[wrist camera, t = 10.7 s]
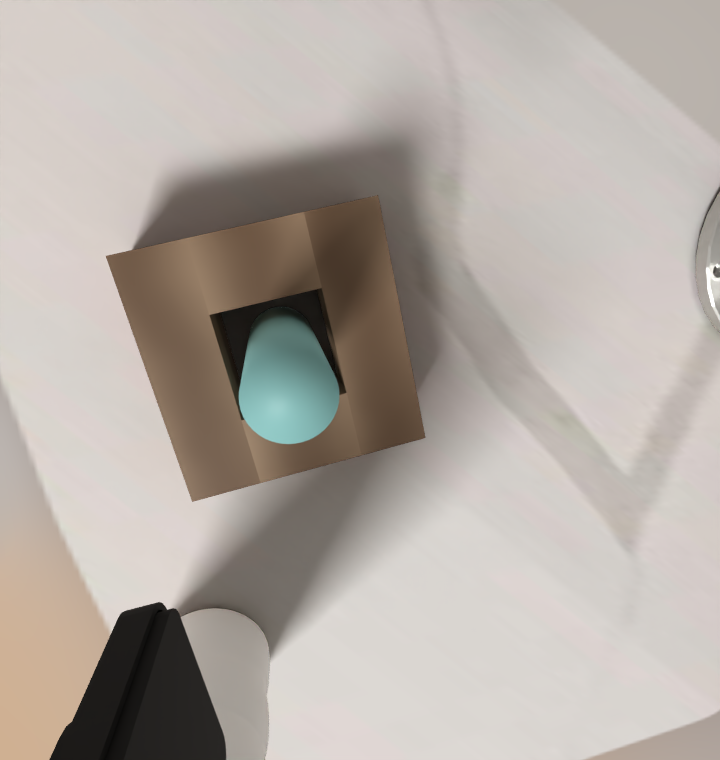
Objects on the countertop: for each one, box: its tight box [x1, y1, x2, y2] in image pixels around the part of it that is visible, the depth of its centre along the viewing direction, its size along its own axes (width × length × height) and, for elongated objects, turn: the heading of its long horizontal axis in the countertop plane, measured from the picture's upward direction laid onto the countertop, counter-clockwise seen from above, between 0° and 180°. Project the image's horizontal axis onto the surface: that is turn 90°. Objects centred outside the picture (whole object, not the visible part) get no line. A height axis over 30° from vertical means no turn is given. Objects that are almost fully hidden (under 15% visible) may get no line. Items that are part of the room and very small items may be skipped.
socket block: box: [106, 195, 425, 502], centre depth 26 cm, size 12×12×4 cm
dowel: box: [239, 307, 339, 444], centre depth 23 cm, size 3×3×11 cm
